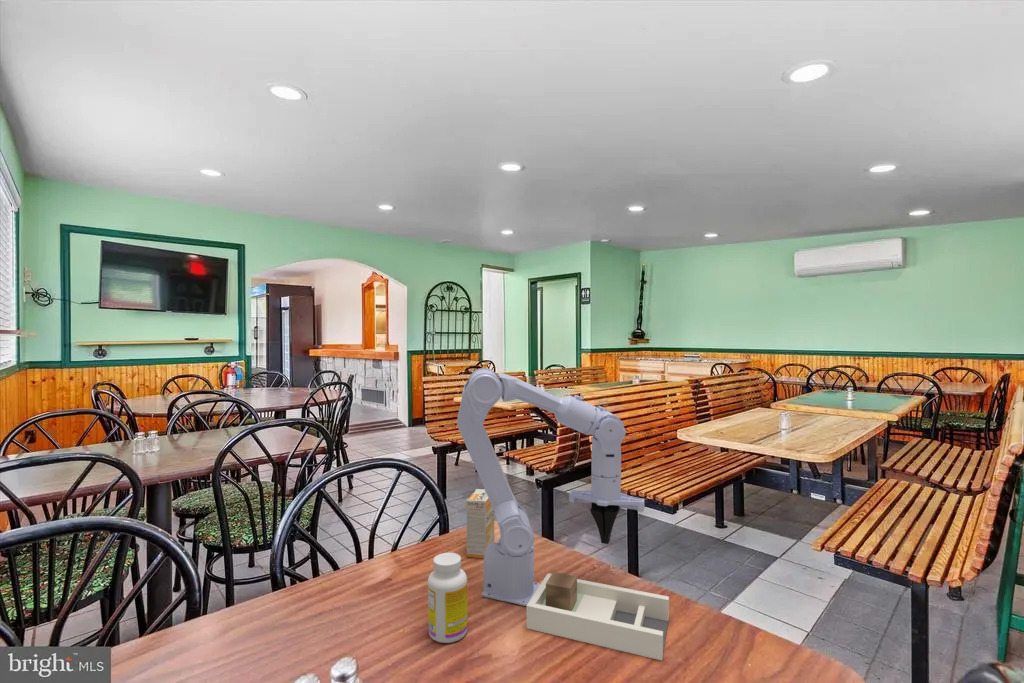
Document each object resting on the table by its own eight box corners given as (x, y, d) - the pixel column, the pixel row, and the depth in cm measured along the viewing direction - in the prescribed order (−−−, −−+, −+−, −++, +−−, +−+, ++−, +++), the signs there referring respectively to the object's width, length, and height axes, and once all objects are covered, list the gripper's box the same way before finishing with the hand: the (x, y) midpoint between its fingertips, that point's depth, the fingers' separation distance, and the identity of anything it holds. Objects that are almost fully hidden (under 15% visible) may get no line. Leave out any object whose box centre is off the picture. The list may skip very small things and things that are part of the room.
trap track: (526, 628, 87) (526, 605, 87) (547, 593, 99) (547, 573, 98) (662, 660, 79) (662, 635, 79) (668, 618, 90) (668, 596, 90)
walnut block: (545, 608, 90) (545, 583, 90) (553, 595, 94) (553, 571, 94) (570, 613, 88) (570, 588, 88) (576, 600, 92) (576, 576, 92)
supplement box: (486, 559, 113) (486, 501, 112) (465, 557, 114) (465, 499, 113) (495, 543, 121) (495, 489, 120) (475, 541, 122) (475, 487, 121)
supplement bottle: (473, 625, 88) (473, 553, 88) (457, 648, 82) (457, 570, 82) (439, 618, 91) (438, 547, 90) (421, 640, 84) (420, 564, 84)
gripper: (564, 475, 98) (564, 543, 99) (641, 483, 93) (640, 556, 94) (574, 465, 105) (573, 530, 106) (646, 473, 100) (645, 541, 100)
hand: (605, 541), depth 100 cm, fingers closed
